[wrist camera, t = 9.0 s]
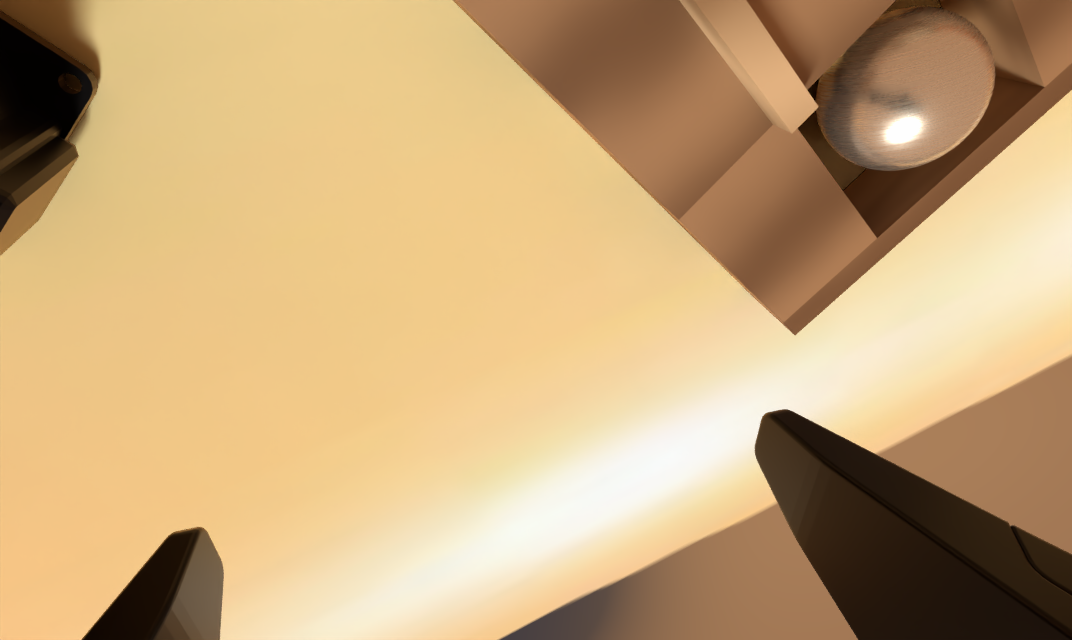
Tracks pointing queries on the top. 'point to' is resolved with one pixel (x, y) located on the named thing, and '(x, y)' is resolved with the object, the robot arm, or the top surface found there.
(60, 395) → the top surface
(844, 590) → the robot arm
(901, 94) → the steel ball
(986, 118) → the hole deck
